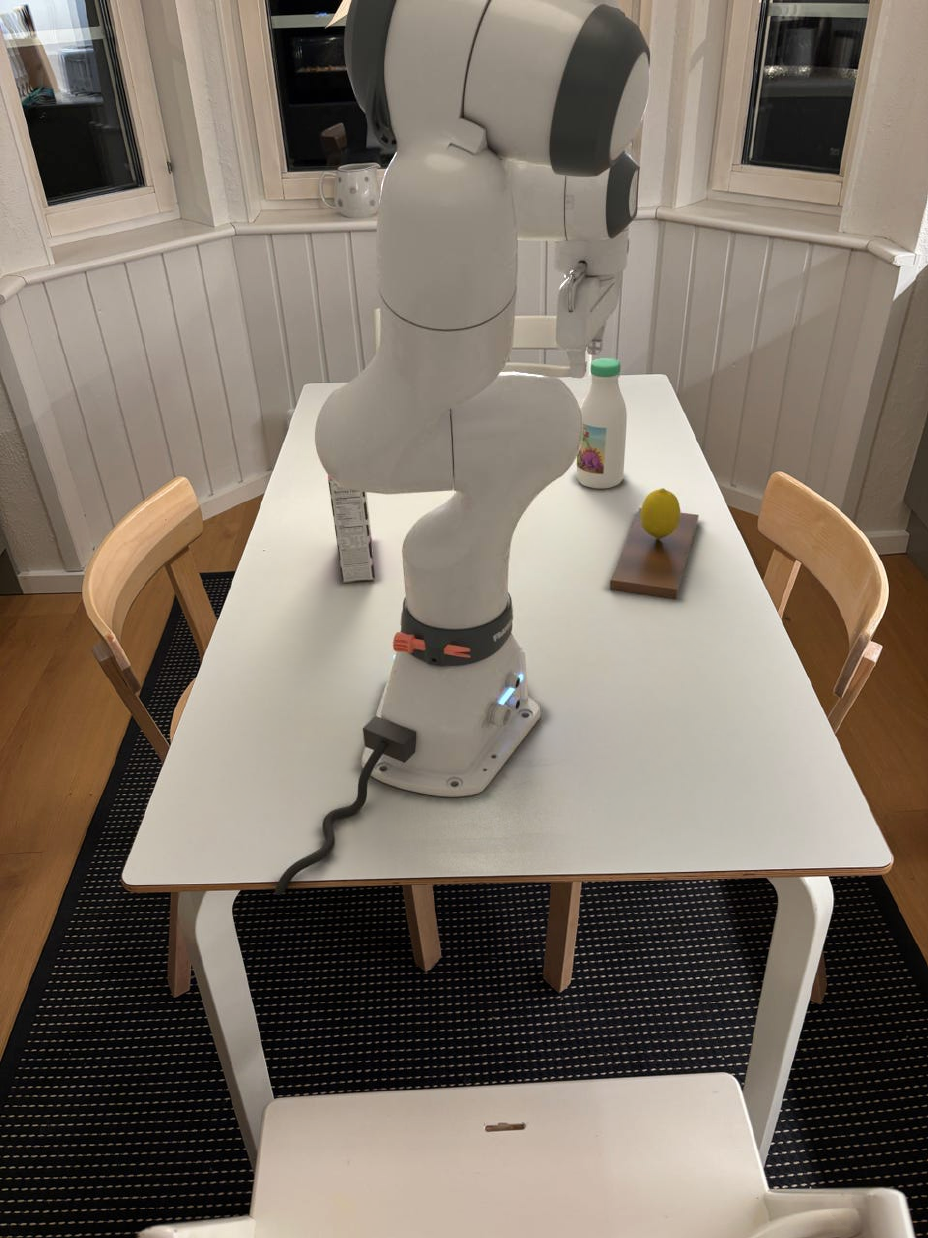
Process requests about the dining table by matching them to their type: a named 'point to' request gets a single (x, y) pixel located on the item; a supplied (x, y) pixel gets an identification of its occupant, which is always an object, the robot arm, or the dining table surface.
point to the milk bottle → (602, 428)
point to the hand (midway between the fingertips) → (586, 364)
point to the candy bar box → (352, 533)
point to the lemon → (660, 513)
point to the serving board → (654, 559)
